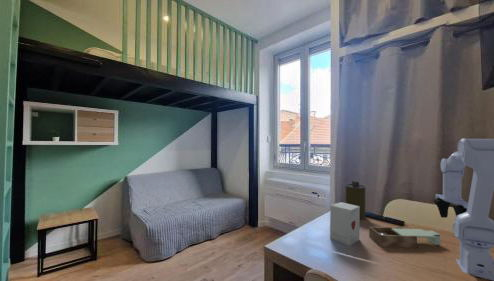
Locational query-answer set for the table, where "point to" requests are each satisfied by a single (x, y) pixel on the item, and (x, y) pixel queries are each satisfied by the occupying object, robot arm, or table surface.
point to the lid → (420, 234)
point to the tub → (391, 238)
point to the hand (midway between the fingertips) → (451, 220)
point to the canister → (356, 196)
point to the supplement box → (344, 223)
